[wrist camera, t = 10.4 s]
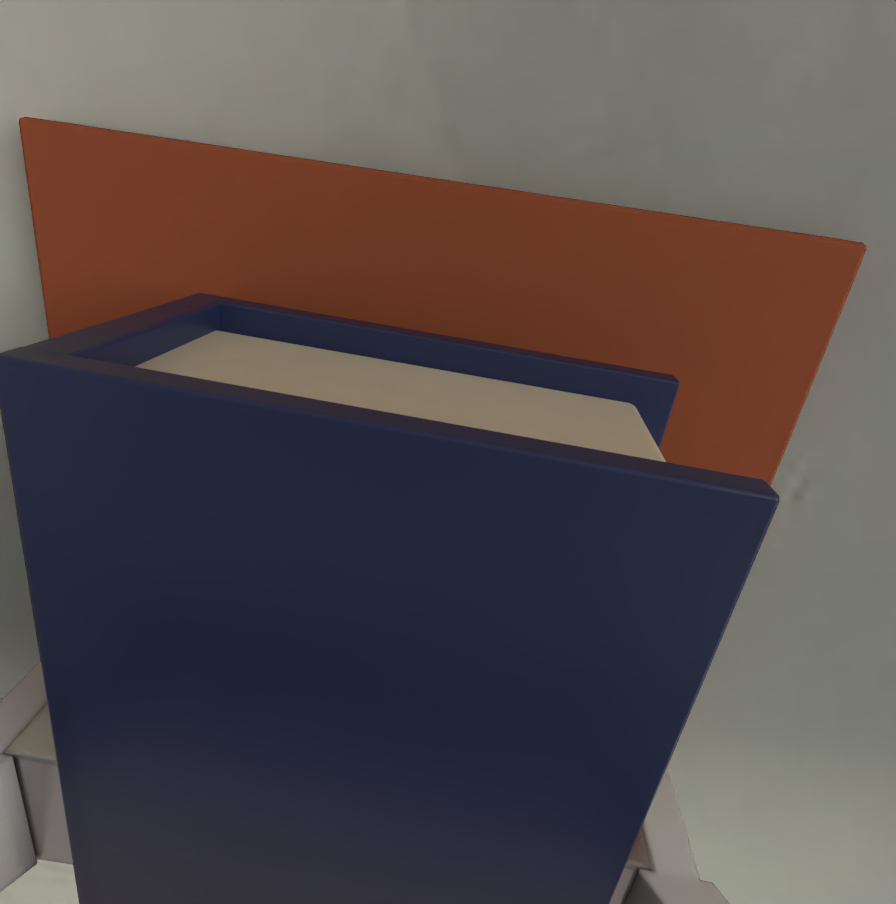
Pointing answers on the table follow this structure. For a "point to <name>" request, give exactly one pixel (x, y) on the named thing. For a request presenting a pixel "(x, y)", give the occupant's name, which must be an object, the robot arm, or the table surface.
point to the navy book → (359, 605)
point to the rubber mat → (448, 270)
